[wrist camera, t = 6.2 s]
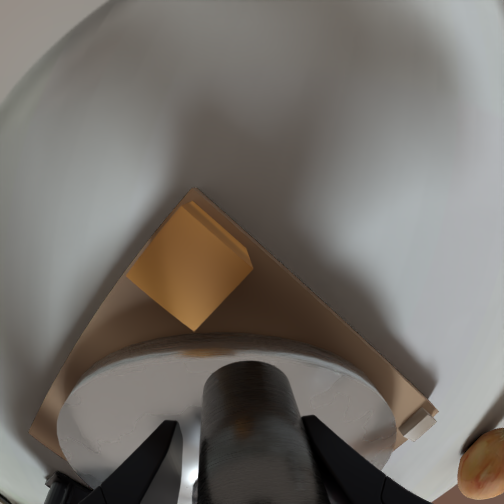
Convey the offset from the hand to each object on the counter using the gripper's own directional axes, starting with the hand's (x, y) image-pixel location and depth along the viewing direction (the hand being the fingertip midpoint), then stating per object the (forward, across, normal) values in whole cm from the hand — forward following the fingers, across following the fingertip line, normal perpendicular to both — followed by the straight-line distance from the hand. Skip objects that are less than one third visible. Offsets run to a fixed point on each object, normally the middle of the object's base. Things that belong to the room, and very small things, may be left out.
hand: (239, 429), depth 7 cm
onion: (+6, -28, +21) cm, 36 cm away
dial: (+3, +1, +7) cm, 8 cm away
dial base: (+5, +1, +7) cm, 9 cm away
